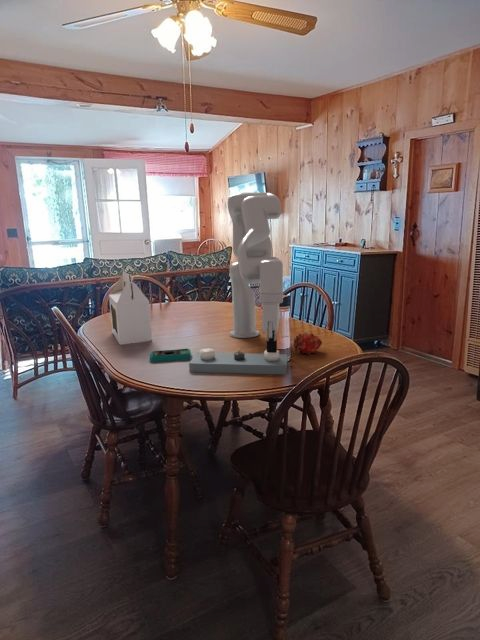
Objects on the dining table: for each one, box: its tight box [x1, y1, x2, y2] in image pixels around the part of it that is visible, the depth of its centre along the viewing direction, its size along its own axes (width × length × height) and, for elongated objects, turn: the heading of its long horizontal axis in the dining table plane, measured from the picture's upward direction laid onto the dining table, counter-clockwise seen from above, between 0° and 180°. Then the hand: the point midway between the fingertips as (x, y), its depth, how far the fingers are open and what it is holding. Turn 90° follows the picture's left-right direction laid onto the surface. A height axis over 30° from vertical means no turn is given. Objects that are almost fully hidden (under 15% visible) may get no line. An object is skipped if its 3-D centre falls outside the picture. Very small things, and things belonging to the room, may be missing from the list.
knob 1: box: [199, 347, 216, 360], centre depth 155 cm, size 5×5×6 cm
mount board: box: [188, 352, 289, 375], centre depth 154 cm, size 12×32×3 cm, turn 82°
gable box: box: [108, 270, 153, 346], centre depth 193 cm, size 22×13×28 cm, turn 23°
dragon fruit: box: [293, 332, 323, 355], centre depth 167 cm, size 8×8×12 cm
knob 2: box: [263, 349, 280, 361], centre depth 152 cm, size 5×5×6 cm
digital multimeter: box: [149, 348, 192, 363], centre depth 166 cm, size 7×15×3 cm, turn 99°
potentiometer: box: [233, 348, 245, 360], centre depth 153 cm, size 4×4×3 cm
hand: (271, 351), depth 151 cm, fingers closed
